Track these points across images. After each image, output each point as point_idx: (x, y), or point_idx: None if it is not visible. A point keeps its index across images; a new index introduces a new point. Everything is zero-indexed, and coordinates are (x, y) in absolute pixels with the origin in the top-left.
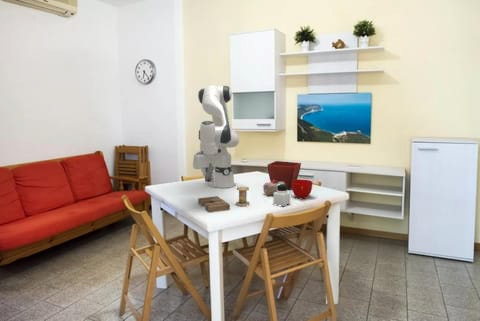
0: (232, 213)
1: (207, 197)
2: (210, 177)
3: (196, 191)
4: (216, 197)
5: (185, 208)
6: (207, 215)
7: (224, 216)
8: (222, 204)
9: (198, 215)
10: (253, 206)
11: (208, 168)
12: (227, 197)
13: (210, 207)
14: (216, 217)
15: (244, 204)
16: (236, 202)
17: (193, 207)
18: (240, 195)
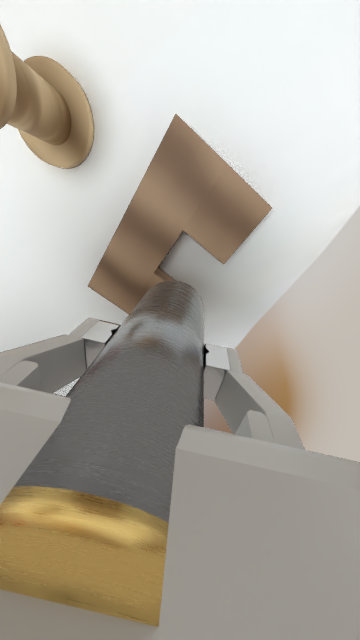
0: (238, 51)
1: (131, 310)
2: (178, 298)
3: (63, 392)
4: (106, 276)
5: (247, 328)
6: (318, 183)
7: (315, 61)
8: (197, 164)
9: (328, 227)
10: (37, 4)
11: (190, 397)
12: (32, 271)
13: (266, 203)
14: (346, 103)
15: (68, 75)
16: (71, 159)
17: (223, 311)
18: (33, 91)
